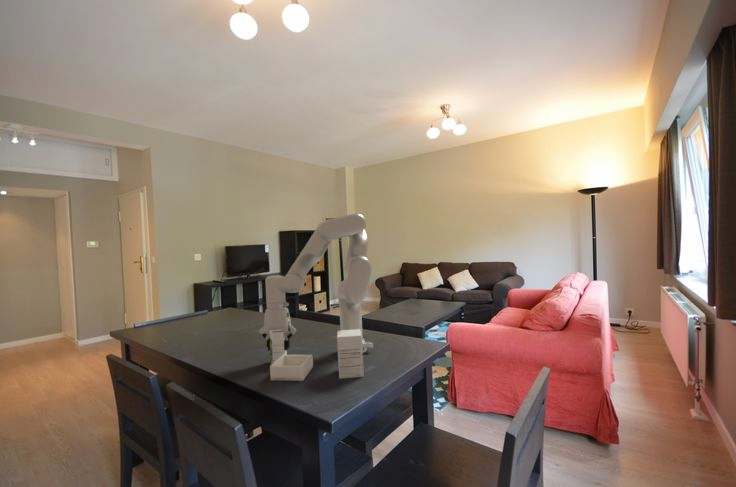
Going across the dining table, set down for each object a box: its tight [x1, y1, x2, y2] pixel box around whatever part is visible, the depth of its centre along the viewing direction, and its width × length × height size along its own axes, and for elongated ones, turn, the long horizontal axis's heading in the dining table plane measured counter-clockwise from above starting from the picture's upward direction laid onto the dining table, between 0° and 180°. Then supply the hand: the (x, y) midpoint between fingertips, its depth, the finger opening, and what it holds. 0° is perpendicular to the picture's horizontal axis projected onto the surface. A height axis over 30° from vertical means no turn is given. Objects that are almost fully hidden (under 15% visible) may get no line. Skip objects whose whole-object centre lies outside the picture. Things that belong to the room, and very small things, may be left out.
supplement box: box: [336, 329, 365, 380], centre depth 121 cm, size 9×9×15 cm
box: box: [269, 354, 314, 382], centre depth 123 cm, size 12×12×5 cm
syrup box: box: [269, 329, 288, 366], centre depth 136 cm, size 6×6×14 cm
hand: (278, 348), depth 136 cm, fingers closed on syrup box, 6 cm apart
